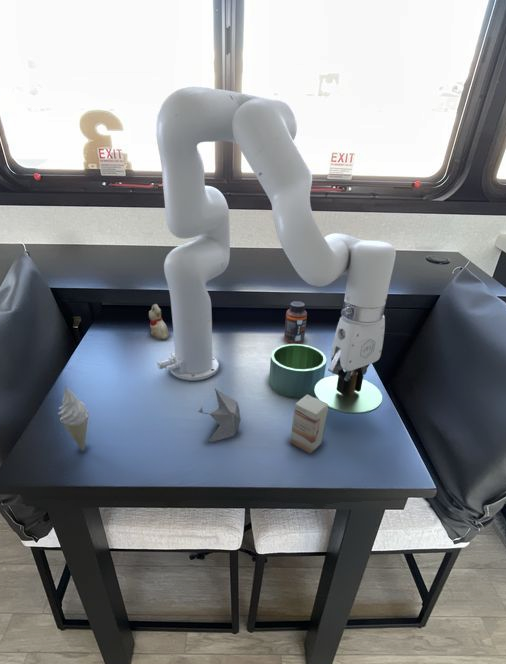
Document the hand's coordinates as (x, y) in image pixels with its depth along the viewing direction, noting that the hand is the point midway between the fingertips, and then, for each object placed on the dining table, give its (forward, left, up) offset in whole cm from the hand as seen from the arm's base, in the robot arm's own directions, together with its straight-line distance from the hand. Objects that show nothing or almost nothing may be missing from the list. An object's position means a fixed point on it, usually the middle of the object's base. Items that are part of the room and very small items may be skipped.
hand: (348, 390), depth 88 cm
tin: (-1, +16, -7) cm, 18 cm away
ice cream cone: (-52, +18, -7) cm, 56 cm away
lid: (0, 0, -1) cm, 1 cm away
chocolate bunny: (-19, +58, -7) cm, 62 cm away
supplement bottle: (+14, +35, -7) cm, 38 cm away
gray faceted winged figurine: (-25, +11, -7) cm, 28 cm away
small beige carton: (-13, -3, -7) cm, 15 cm away
